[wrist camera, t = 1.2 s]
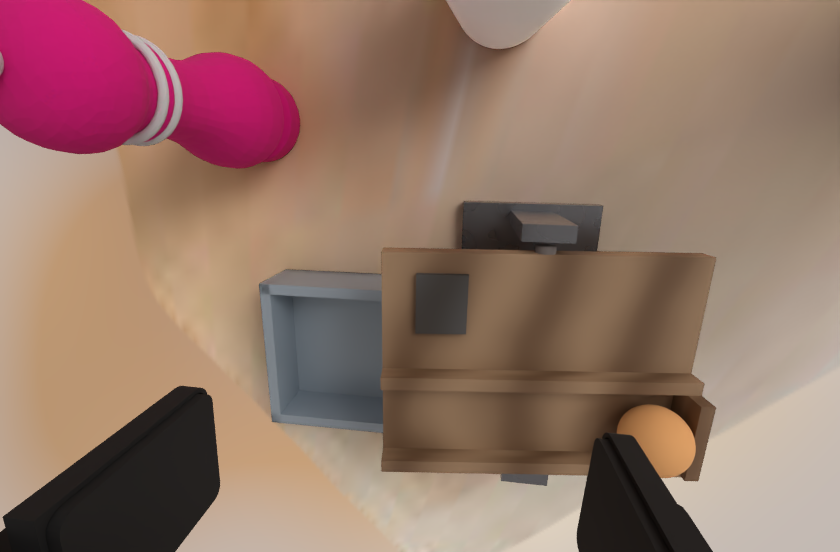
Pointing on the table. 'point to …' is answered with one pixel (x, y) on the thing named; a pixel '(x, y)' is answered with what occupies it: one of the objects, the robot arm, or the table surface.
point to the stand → (530, 241)
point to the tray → (534, 354)
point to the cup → (503, 19)
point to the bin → (324, 348)
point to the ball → (660, 438)
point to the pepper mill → (132, 90)
